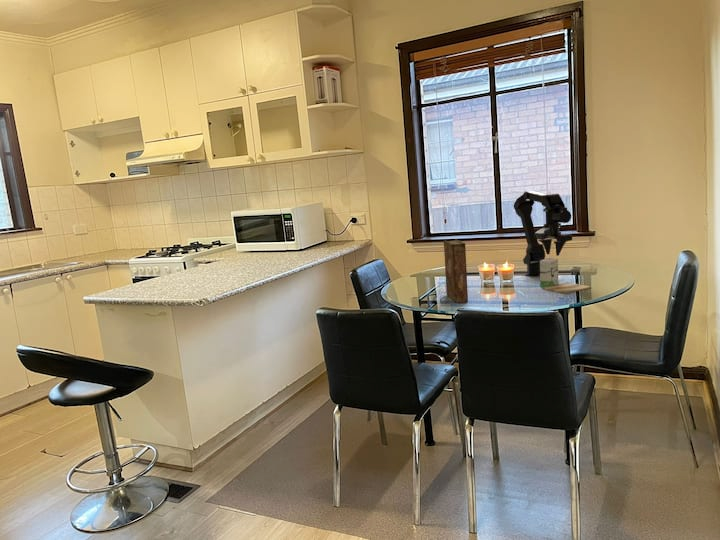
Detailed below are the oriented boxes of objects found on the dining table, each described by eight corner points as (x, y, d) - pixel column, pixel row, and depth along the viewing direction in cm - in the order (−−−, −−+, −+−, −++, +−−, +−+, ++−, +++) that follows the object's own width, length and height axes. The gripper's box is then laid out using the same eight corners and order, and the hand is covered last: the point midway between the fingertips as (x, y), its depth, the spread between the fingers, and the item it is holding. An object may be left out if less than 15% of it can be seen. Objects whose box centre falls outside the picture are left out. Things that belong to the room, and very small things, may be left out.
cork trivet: (542, 288, 239) (542, 287, 239) (567, 283, 245) (567, 282, 245) (564, 293, 228) (564, 292, 227) (590, 288, 234) (590, 286, 233)
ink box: (550, 287, 241) (549, 261, 239) (539, 286, 245) (539, 260, 242) (558, 283, 247) (558, 258, 245) (548, 282, 250) (548, 257, 248)
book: (468, 302, 227) (466, 243, 222) (456, 303, 226) (453, 244, 222) (458, 294, 243) (455, 239, 238) (446, 295, 242) (443, 240, 238)
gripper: (524, 222, 253) (525, 255, 256) (554, 224, 236) (554, 259, 239) (542, 219, 257) (543, 252, 260) (573, 221, 241) (573, 256, 243)
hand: (552, 254), depth 250 cm, fingers open, 6 cm apart
